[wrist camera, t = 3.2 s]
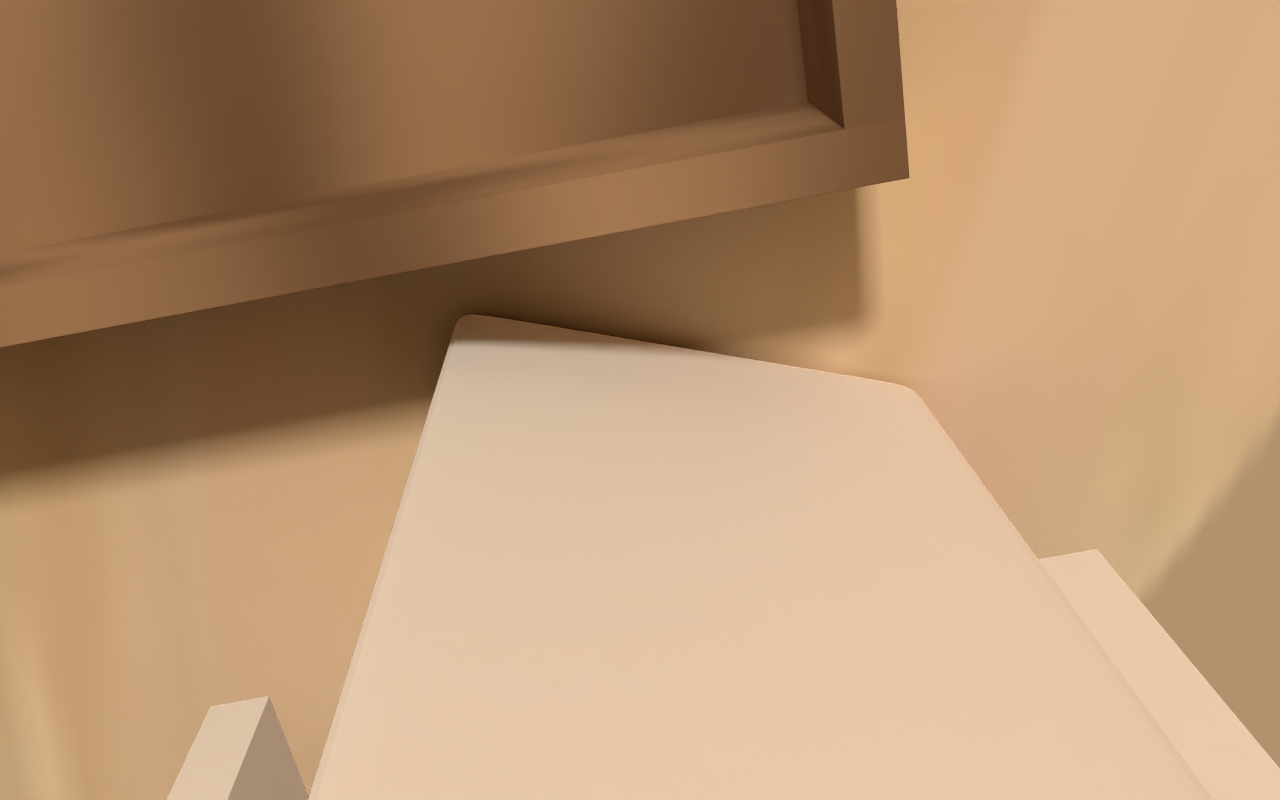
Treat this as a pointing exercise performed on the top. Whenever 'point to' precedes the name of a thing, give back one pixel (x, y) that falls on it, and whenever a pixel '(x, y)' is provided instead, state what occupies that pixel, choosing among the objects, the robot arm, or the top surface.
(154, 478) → the top surface
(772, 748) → the milk carton
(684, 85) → the tray
